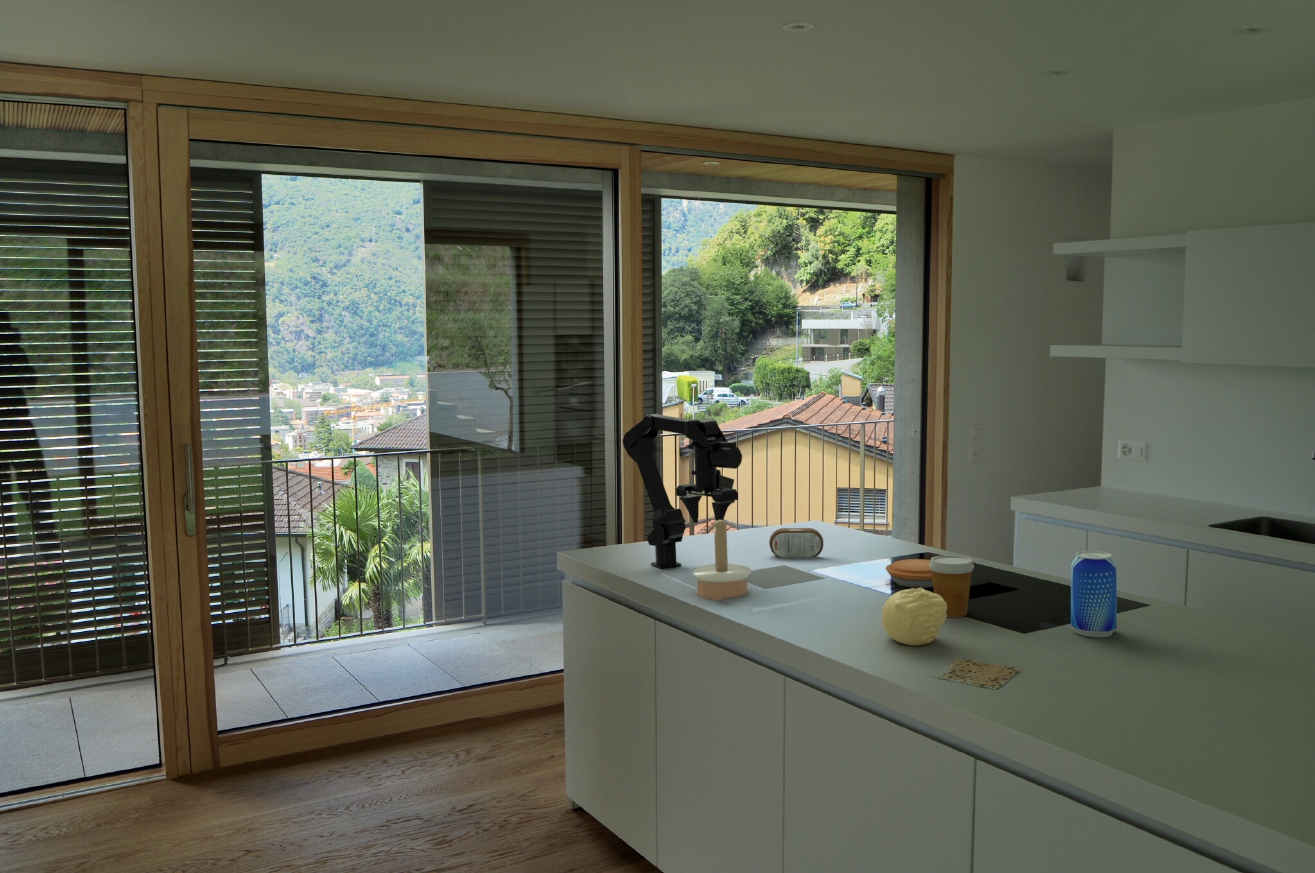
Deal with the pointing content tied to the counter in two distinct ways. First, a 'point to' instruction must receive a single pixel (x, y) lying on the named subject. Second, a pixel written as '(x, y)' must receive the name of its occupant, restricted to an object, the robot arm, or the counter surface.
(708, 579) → the lid
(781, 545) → the tin
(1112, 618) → the beer can
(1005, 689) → the counter surface
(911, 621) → the pale yellow lumpy ball
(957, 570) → the disposable coffee cup
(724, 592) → the bowl
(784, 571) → the mat
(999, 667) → the cookie
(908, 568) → the pie
